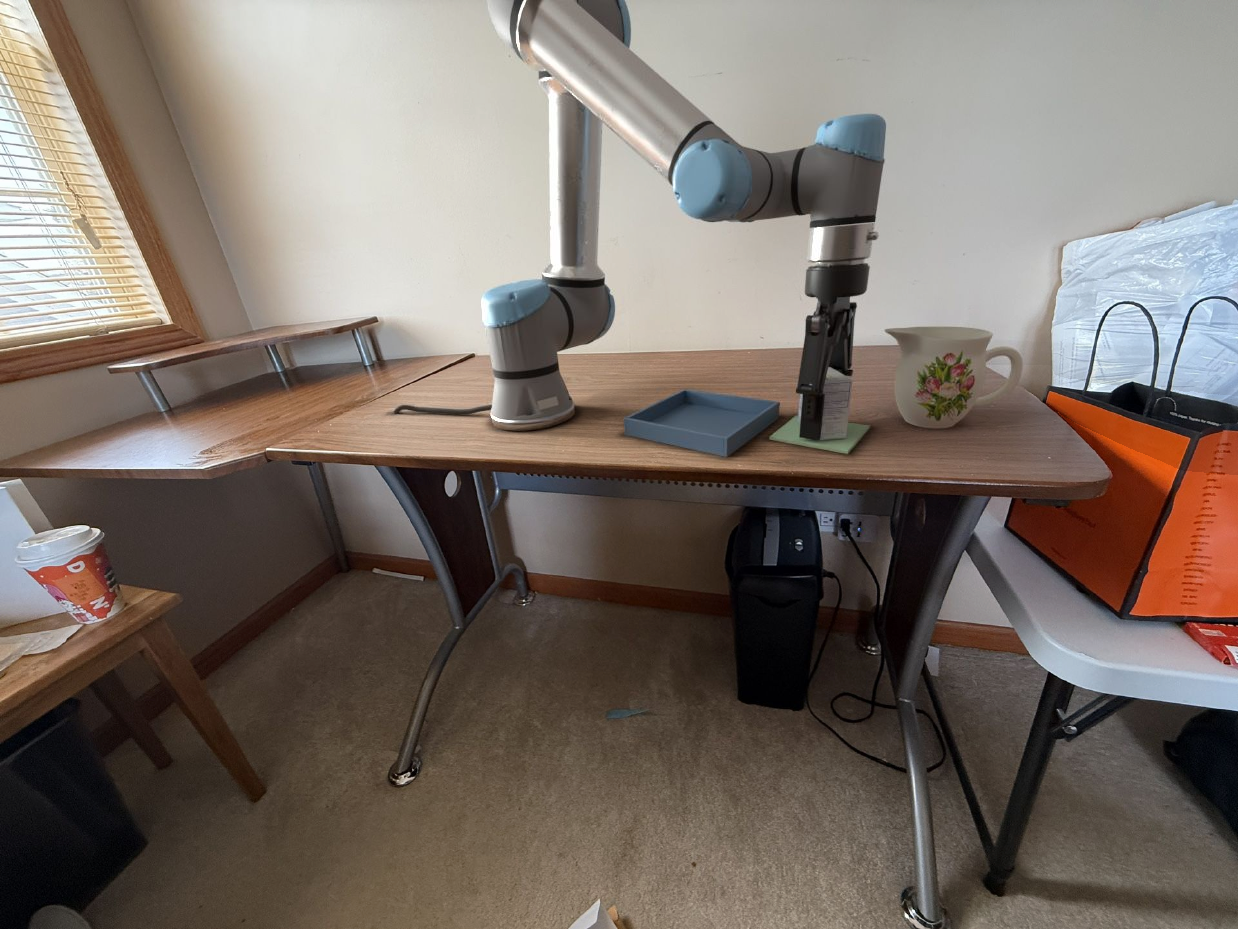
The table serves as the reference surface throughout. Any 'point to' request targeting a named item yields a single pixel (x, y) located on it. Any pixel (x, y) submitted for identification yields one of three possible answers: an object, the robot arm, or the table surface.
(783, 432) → the mat
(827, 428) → the medicine box
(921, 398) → the pitcher
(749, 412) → the tray
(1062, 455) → the table surface
